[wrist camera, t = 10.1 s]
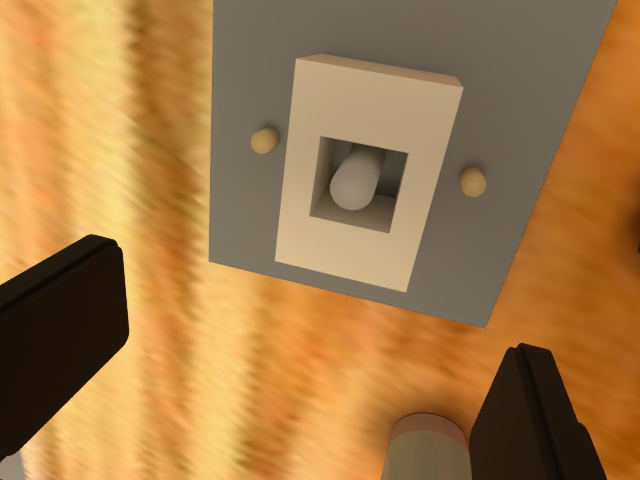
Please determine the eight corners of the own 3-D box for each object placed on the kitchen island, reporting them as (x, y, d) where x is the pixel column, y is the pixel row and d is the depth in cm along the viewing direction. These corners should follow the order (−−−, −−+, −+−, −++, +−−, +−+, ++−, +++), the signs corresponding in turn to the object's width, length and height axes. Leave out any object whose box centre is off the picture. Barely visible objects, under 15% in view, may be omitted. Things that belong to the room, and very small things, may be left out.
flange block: (321, 53, 22) (296, 58, 18) (455, 76, 21) (463, 87, 17) (299, 223, 27) (274, 260, 23) (409, 248, 26) (405, 292, 22)
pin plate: (612, -11, 20) (697, -31, 13) (482, 317, 28) (498, 396, 22) (224, -63, 22) (147, -99, 16) (216, 253, 31) (163, 308, 25)
